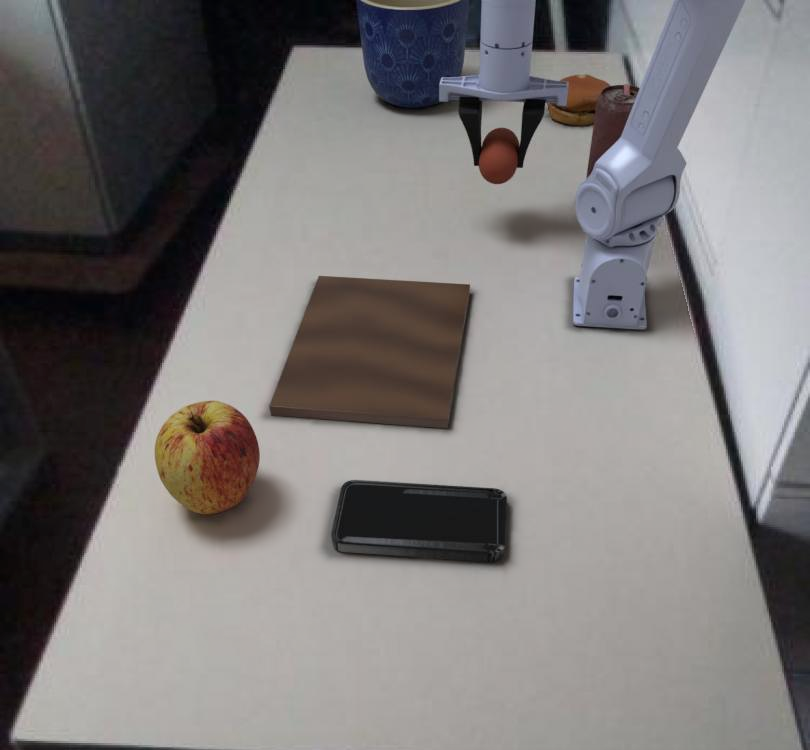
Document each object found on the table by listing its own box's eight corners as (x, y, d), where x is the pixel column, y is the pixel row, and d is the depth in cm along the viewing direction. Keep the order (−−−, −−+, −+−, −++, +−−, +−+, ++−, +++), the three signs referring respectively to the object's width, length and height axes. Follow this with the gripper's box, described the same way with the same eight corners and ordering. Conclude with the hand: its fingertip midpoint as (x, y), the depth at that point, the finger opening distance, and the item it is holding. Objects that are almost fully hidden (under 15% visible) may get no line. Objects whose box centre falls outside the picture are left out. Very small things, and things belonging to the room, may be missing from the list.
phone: (504, 554, 72) (328, 542, 73) (503, 563, 73) (330, 551, 74) (507, 488, 77) (343, 477, 78) (506, 496, 78) (344, 486, 79)
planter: (354, 82, 142) (347, -24, 130) (454, 72, 144) (456, -34, 132) (370, 124, 131) (364, 13, 119) (478, 113, 133) (482, 2, 121)
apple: (246, 542, 75) (226, 459, 68) (152, 526, 77) (121, 443, 69) (280, 471, 81) (264, 388, 73) (191, 457, 82) (167, 374, 75)
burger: (559, 130, 128) (562, 97, 124) (538, 105, 134) (541, 73, 131) (620, 122, 129) (625, 89, 126) (597, 98, 135) (601, 66, 132)
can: (627, 192, 115) (647, 82, 104) (631, 216, 111) (652, 103, 100) (582, 191, 115) (597, 81, 105) (583, 214, 111) (599, 102, 101)
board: (447, 428, 84) (447, 419, 83) (270, 415, 86) (269, 406, 85) (469, 293, 100) (470, 284, 99) (319, 284, 102) (318, 275, 101)
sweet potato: (514, 192, 101) (517, 153, 98) (476, 190, 102) (477, 151, 99) (519, 159, 107) (522, 121, 104) (482, 157, 108) (484, 120, 104)
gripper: (574, 28, 95) (560, 150, 105) (444, 25, 97) (443, 146, 107) (572, 52, 90) (558, 177, 101) (437, 48, 92) (436, 172, 102)
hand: (499, 163), depth 103 cm, fingers closed on sweet potato, 4 cm apart
